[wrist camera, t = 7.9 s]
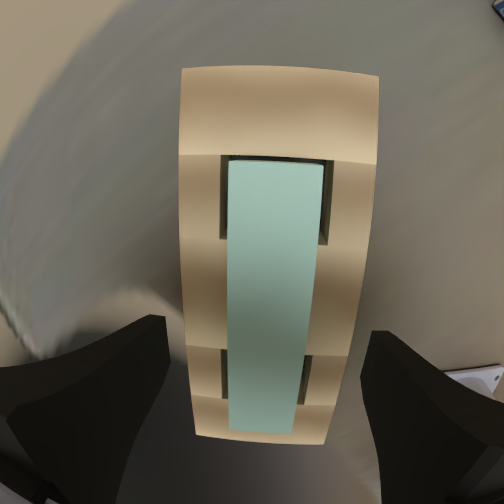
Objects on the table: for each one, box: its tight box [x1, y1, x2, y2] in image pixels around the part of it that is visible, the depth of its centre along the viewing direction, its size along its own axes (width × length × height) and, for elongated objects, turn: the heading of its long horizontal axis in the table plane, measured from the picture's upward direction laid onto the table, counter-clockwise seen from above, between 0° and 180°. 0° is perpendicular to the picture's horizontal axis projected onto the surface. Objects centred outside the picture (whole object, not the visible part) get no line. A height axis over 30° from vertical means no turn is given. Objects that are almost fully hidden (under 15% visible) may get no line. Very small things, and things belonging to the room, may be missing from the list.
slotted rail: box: [179, 66, 379, 444], centre depth 15 cm, size 20×8×2 cm, turn 178°
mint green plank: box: [227, 160, 323, 434], centre depth 14 cm, size 12×3×5 cm, turn 178°
